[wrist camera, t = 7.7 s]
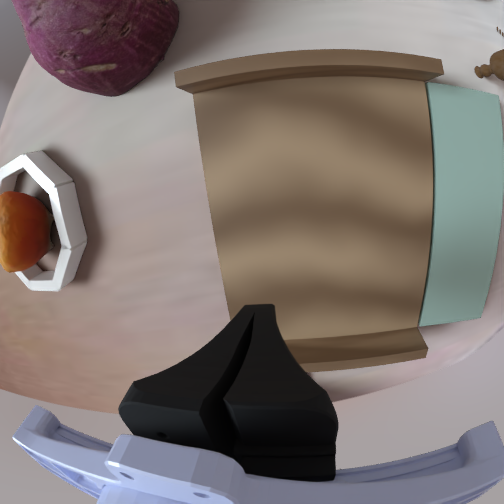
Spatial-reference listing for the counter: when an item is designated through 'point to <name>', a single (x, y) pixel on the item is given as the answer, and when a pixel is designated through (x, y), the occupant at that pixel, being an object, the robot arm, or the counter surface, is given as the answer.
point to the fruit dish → (64, 214)
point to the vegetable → (98, 40)
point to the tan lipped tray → (322, 195)
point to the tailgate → (463, 202)
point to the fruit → (23, 231)
